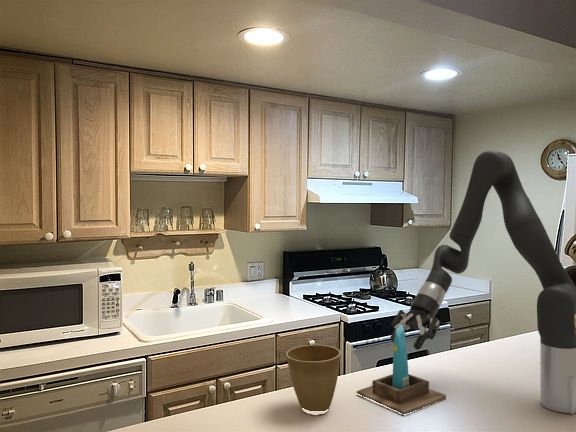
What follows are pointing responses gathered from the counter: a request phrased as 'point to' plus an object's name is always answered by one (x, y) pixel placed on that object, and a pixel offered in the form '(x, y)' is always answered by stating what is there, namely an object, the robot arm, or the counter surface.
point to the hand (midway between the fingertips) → (404, 344)
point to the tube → (400, 360)
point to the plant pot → (314, 375)
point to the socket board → (402, 394)
